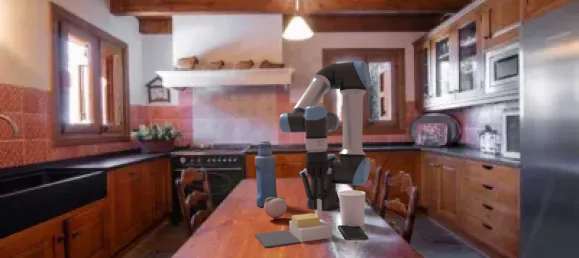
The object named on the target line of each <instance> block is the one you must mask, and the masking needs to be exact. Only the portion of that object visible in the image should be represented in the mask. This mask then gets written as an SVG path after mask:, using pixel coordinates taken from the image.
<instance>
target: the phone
mask: <svg viewBox="0 0 579 258" xmlns="http://www.w3.org/2000/svg"><path fill="white" fill-rule="evenodd" d="M337 229H338V231H339V233H340V235H341V237H342V238H343V240H344V241H362V240H365V241H367V240H368V237H369V236H368V235H367V234H366V232H365V231H364V230H363V228H362V227H360V226H346V225H342V224H340V225H337Z"/></svg>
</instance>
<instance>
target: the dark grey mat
mask: <svg viewBox="0 0 579 258" xmlns="http://www.w3.org/2000/svg"><path fill="white" fill-rule="evenodd" d="M254 236H255V238H256V239H257V240H258V241H259V243H260V244H261V245H262V246H263V247H264V248H265V249H267V248H274V247H281V246H288V245H296V244H301V243H302V242H301V241H300V240H299V239H297V238H296V237H295V236H294V235H293V234H292V233H291V232H290V230H288V229H284V230H274V231H268V232H259V233H254Z"/></svg>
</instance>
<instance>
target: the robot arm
mask: <svg viewBox="0 0 579 258" xmlns="http://www.w3.org/2000/svg"><path fill="white" fill-rule="evenodd" d="M371 79H372V78H371V73H370V70H369V66H368V64H367V63H366V62H365V61H362V60H361V61H359V60H358V61H356V60H354V61H346V62H339V63H338V62H336V63H329V64H328V65H326V66H324V67H321V69H318V71H317V72H316V73H314V74H313V76H312V77H311V78H310V81H309V85H308V87H307V88H306V90H305V91H304V92H303V93H302V96H300V98H299V99H298V101H297V102H296V104H295V106H294V107H293V108H292V110H291V111H290V112H285V113H281V114H280V116H279V121H278V125H279V128H280V131H282V132H283V133H290V134H292V133H297V134H298V133H305V150H306V152H305V162H306V164H305V166H304V169H303V170H302V171H299V173H298V174H299V176H300V177H301V179H302V183H303V187H304V191H305V196H306V198H307V199H306V207H307V208H308V209H312V210H314V214H315V215H317V216H318V217H320V219H322V220H323V210H324V211H325V210H335V209H339V208H340V200H339V193H338V190H337V185H351V186H357V185H358V186H362V185H363V186H364V184H366V182H367V181H368V178H369V175H370V170H371V163H370V162H371V161H370V158H369V157H367V154H366V153H365V152H364V150H363V117H364V115H363V114H364V113H363V105H364V104H363V101H364V100H363V98H364V97H363V96H364V95H365V94H367V88H370V86H371ZM332 90H339V94H341V95H342V149H341V151H339V152H338V157H336V154H334V153H329V152H328V151H327V150H328V133H332V132H334V131H336V130H337V129H338V128H339V126H340V117H339V116H338V115H337V114H336V113H335V112H332V111H327V107H326V106H325V105H319V104H320V102H321V100H323V98H324V95H326V94H328V93H329V92H330V91H332ZM308 175H309V178H308Z"/></svg>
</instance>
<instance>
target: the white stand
mask: <svg viewBox="0 0 579 258" xmlns="http://www.w3.org/2000/svg"><path fill="white" fill-rule="evenodd" d="M332 226H333V225H331V224H329V223H328V222H326V221H325V220H323V218H322V219H320V225H313V226H305V227H297V226H295V225H294V224H293V223H292V219H291V220H289V232H291V233H292V234H293V235H294V236H295V237H296V238H297V239H299V240H300V241H301V243H302V242H303V243H304V242H309V241H318V240H324V239H332V238H333V227H332Z"/></svg>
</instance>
